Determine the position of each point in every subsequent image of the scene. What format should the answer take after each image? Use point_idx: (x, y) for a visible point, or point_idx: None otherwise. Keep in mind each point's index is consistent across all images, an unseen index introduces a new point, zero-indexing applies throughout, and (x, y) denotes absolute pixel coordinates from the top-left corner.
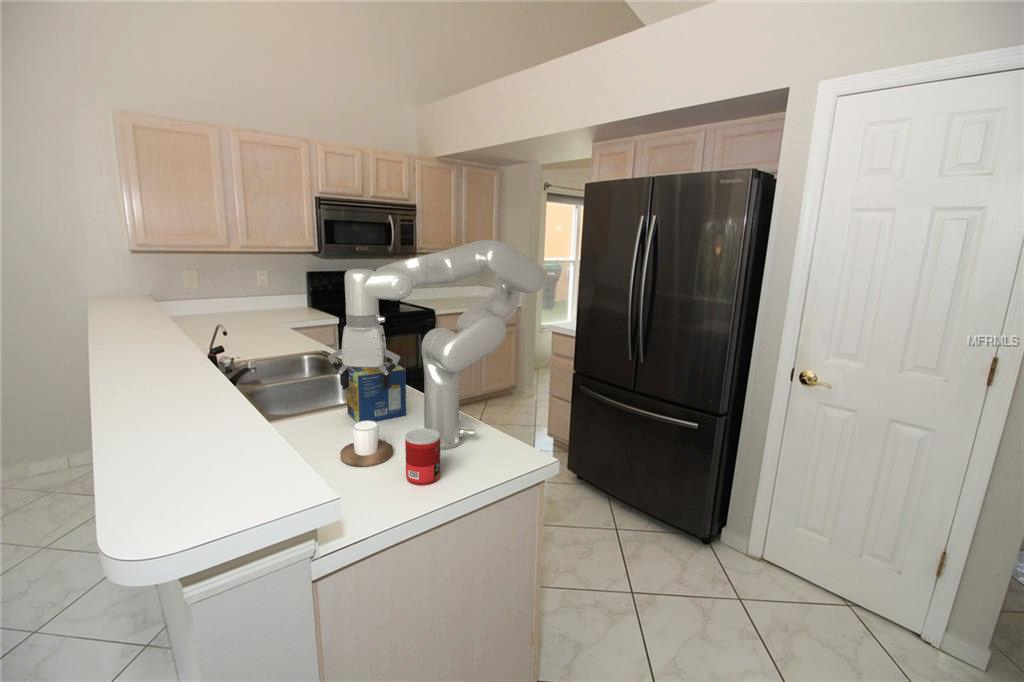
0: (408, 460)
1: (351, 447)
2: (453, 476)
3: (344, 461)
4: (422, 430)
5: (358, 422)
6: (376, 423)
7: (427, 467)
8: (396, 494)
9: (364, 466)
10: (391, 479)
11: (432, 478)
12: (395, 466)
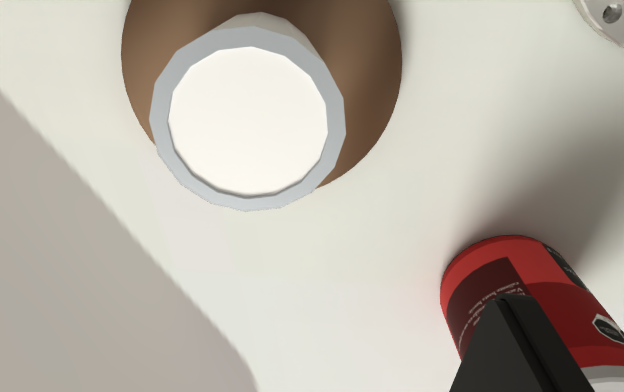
0: None
1: (168, 26)
2: (611, 282)
3: None
4: (604, 388)
5: (186, 72)
6: (324, 101)
7: None
8: (397, 361)
9: None
10: (383, 282)
11: None
12: (402, 192)
